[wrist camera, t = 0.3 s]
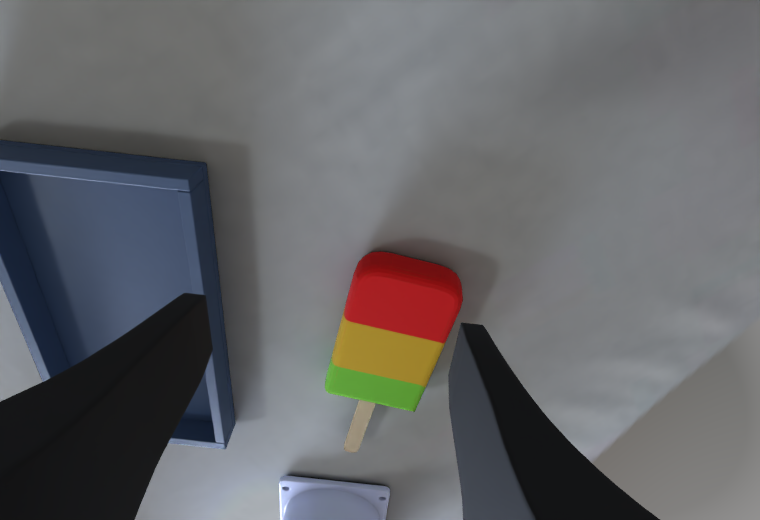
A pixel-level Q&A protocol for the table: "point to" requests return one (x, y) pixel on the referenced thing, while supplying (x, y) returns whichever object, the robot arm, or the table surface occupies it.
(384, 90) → the table surface
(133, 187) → the tray
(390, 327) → the popsicle
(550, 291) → the table surface
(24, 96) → the table surface
